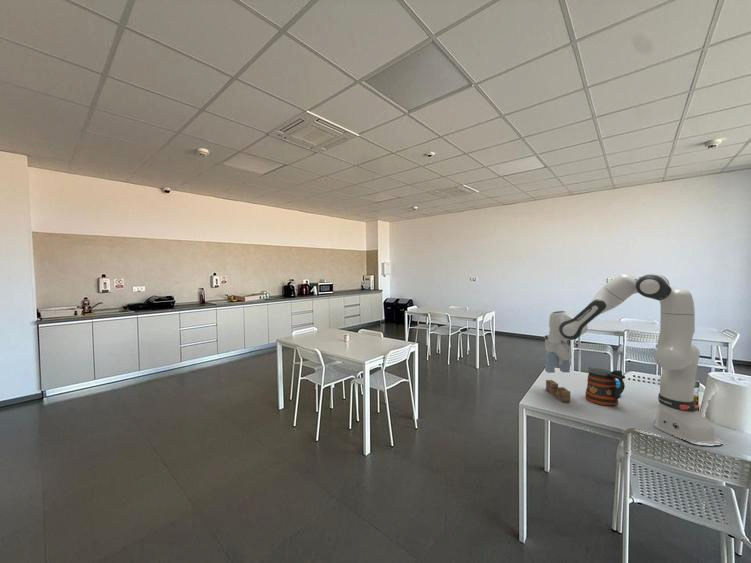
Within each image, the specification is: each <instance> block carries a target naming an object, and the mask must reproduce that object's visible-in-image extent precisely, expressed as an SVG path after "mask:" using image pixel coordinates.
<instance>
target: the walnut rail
mask: <svg viewBox="0 0 751 563" xmlns="http://www.w3.org/2000/svg"><path fill="white" fill-rule="evenodd" d="M545 390H546V391H547V392H548V391H549V393H550V394H551V395H552V396H554V397H555V396H556V398H557V399H560V401H561V402H562V403H563V404H567V403H569V404H570V403H571V391H570V390H568V389H567V388H565V387H564V386H563V387H562V386H561V387H560V386H559V383H557V382H556V381H554V379H553V380H552V379H546V380H545Z"/></svg>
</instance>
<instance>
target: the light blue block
mask: <svg viewBox="0 0 751 563" xmlns="http://www.w3.org/2000/svg"><path fill="white" fill-rule="evenodd" d="M544 354H545V356H544V357H545V360H544V366H545V367H544V370H545V372H546V373H549V374H551V373H555V372H556V370H555V368H559V371H560V372H562V373H570V372H571V370H570V366H571V359H570V360H563V362H562V365H560V364H558V361H559V357H558V356H556V353H554V352H548V351H546V352H544Z"/></svg>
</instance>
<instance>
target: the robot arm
mask: <svg viewBox="0 0 751 563" xmlns="http://www.w3.org/2000/svg"><path fill="white" fill-rule="evenodd" d="M634 294H640V295H641V296H642V297H645V298H648V299H653V300H656V301H659V304H660V329H659V334H658V339H657V344H656V350H655V352H654V355H653V359H654V361H655V362H654V363H656V364H657V365H658V366H659V367H661V368H662V372H661V374H660V376H659V393H658V396H657V399H658V402H659V403H658V407H657V411H656V416H655V420H654V423H653V427H654V428H656V429H658V430H660V431H662V432H664V433H666V434H668V435H670V436H672V435H673V436H672V437H675V438H677V437H678V438H677V439H679V438H680V439H679V440H681V439H683V440H686V441H689V442H693V443H697V442H701V443H708V444H721V443H724V441H723V440H722V439H720V438H718V437H717V436H716V432H715V428H714V426H713V424H711V423H710V421H708V420H707V419H706V418H705V417H704V415H702V414H701V412H699V411H698V410H699V409H700V408H701V405H698V404H697V403H696V400H695V398H694V396H695V393H694V392H695V380H696V376H697V371H698V367H699V358H700V356H701V352H700V350H699V348H698V347H697V346H696V345H695V344H693V343H692V341H693V337H694V334H695V332H696V331H695V330H696V329H695V328H696V326H695V323H696V321H695V320H696V319H695V318H696V317H695V313H696V312H695V303H694V302H695V301H694V298H693V294H692V293H691V292H690V291H688V290H687V289H685V288H684V289H683V288H677V287H676V288H675V287H672V286H671V285H670V282H669V280H668V278H666V277H665V275H664V276H663V275H661V274H658V273H649V274H645V275H643V276H642V275H641V276H639V277H635V276H634V275H632V274H629V273H621V274H618V275H617V276H615V277H614V278H612V279H611V280H609V281H608V282H607V283H605V285H603V286H602V287H601V288H600V290H598V292H596V294H595V295H594V297H593V298H592V299H591V301H590V302H589V303H588V304H587V306H586V307H584V308H583V309H582V310H581V311H579V312H578V314H577V315H576V316H573V315H570V314H569V313H567V312H566V311H564V310H560V311H559V310H558V311H553V312H552V313H550V315H549V318H548V319H549V322H548V328H549V332H548V334H546V335H544V339H545V340H544V349H545V351H546V352H554V353H556V356H558V357H559V361H558V364H560V365H562V362H563V360H570V361H571V359H572V349H571V346H570V345H569V343H568V341H569V340H571V341H574V340H577V339H578V338H580V337H581V336H582V335H584V334H586V332H587V331H588V324H589V323H590V322H592V321H593V320H595V318H597V317H598V316H600V315H601V314H604V313H606V312H608V311H611V310H613V309H615V308H616V307H618V306H620V305H621V304H622V303H624V302H625V301H626V300H628V298H630V297H631V296H632V295H634ZM683 440H682V441H683ZM715 441H718V442H720V443H717V442H715Z"/></svg>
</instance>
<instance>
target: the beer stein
mask: <svg viewBox="0 0 751 563" xmlns="http://www.w3.org/2000/svg"><path fill="white" fill-rule="evenodd" d="M624 379H626V375H623V371H622V370H618V369H617V370H613V371H611V370H608V369H605V368H592V367H588V374H587V385H586V389H585V398H586V400H587V401H588V402H590V403H593V404H597V405H601V406H610V407H611V406H616V405H618V404H619V401H618V400H619V399H620V398H621V397H620V394H621V395H622V393H623V392H624V390H625V387H626V385H625V381H624ZM616 380H618V381H620V384H621V385H620V387H619V388H616V386H617V384H616Z"/></svg>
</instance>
